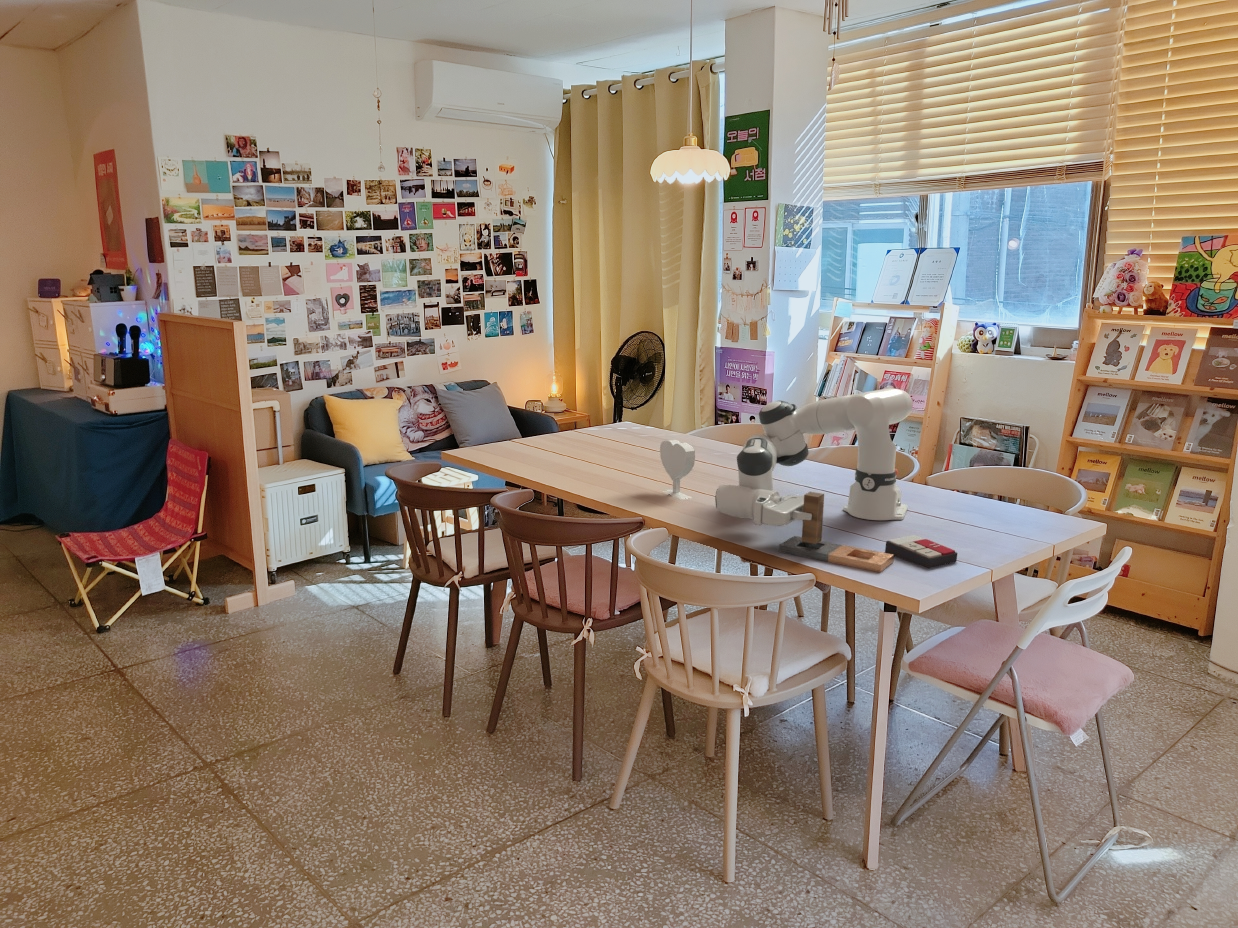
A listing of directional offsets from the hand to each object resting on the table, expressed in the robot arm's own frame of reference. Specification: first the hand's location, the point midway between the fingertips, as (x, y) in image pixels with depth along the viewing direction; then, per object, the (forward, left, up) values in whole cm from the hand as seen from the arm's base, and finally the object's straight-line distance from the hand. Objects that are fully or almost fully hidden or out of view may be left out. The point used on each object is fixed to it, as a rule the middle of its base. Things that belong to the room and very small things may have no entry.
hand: (816, 514), depth 242 cm
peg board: (0, +6, -11) cm, 12 cm away
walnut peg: (0, -1, -8) cm, 8 cm away
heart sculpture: (-31, -62, -11) cm, 70 cm away
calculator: (-13, +24, -11) cm, 30 cm away
